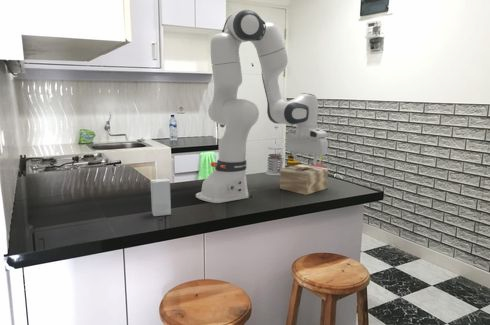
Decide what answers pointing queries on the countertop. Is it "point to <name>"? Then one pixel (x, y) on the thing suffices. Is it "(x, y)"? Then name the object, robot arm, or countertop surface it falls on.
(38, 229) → the countertop surface
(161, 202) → the skincare box
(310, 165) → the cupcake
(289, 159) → the condiment
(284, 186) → the box
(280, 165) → the french press
